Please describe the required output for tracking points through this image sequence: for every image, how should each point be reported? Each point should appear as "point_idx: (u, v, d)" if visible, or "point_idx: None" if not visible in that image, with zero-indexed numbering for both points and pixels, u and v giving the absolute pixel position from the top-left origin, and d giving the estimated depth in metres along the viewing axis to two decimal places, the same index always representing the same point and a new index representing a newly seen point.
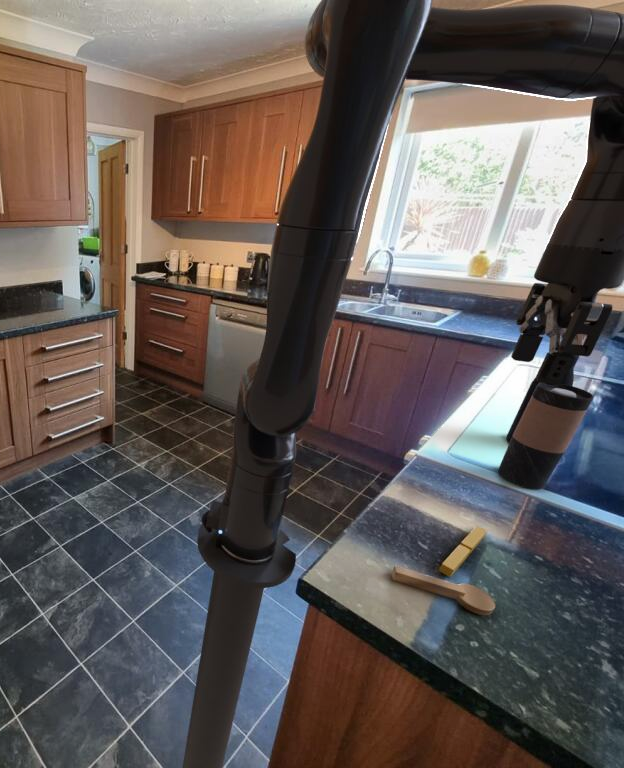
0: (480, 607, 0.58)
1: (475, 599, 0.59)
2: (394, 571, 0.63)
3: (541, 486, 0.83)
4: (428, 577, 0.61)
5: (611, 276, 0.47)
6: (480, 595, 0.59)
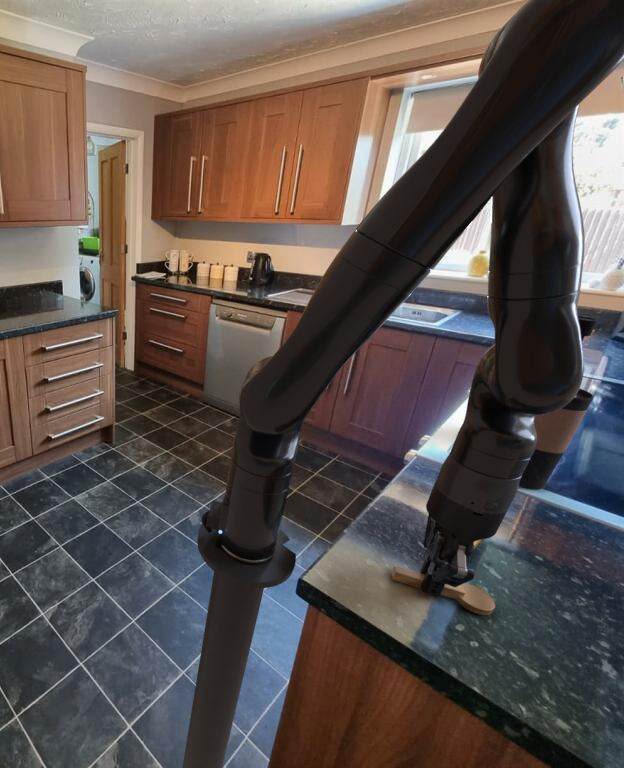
0: (480, 607, 0.58)
1: (475, 599, 0.59)
2: (394, 571, 0.63)
3: (541, 486, 0.83)
4: None
5: (483, 531, 0.52)
6: (480, 595, 0.59)
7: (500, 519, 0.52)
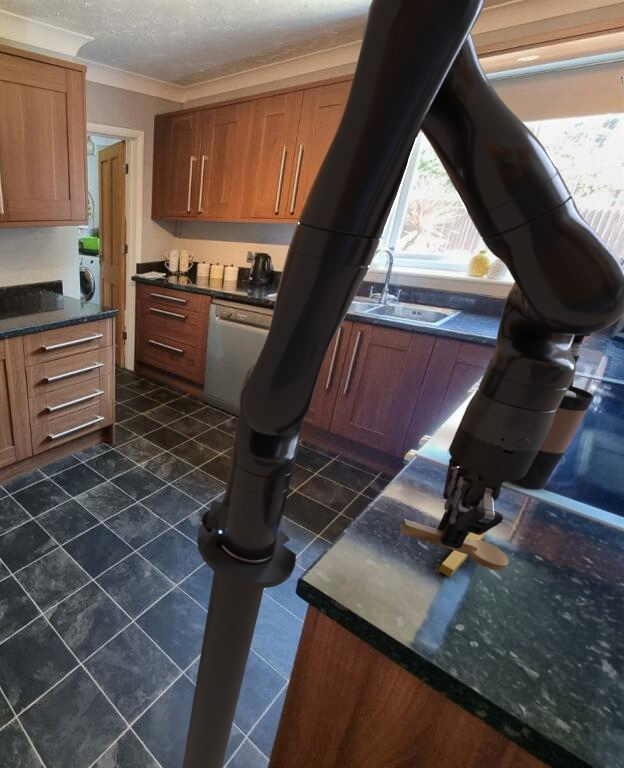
0: (493, 561, 0.55)
1: (487, 554, 0.56)
2: (403, 524, 0.59)
3: (541, 486, 0.83)
4: (439, 531, 0.58)
5: (513, 472, 0.49)
6: (492, 550, 0.56)
7: (532, 458, 0.48)
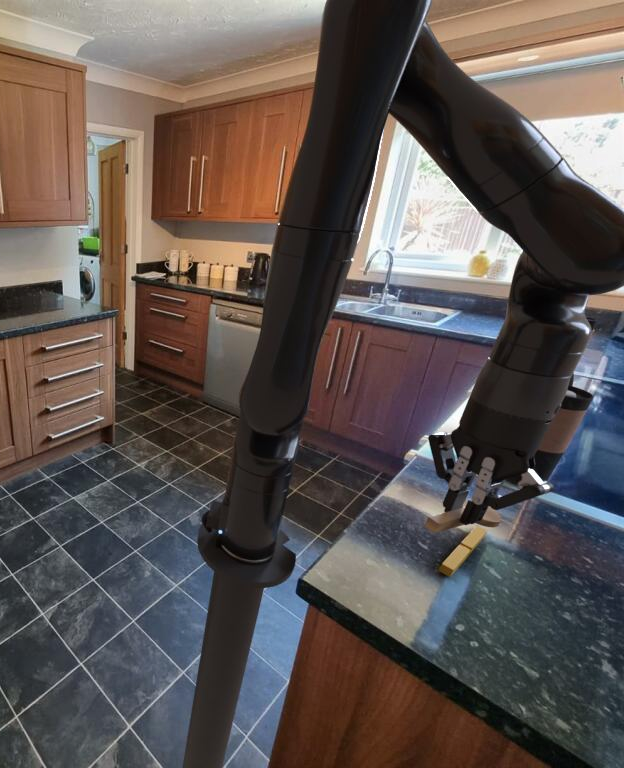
0: (496, 519, 0.56)
1: (485, 513, 0.57)
2: (433, 523, 0.54)
3: None
4: (453, 513, 0.56)
5: None
6: None
7: None
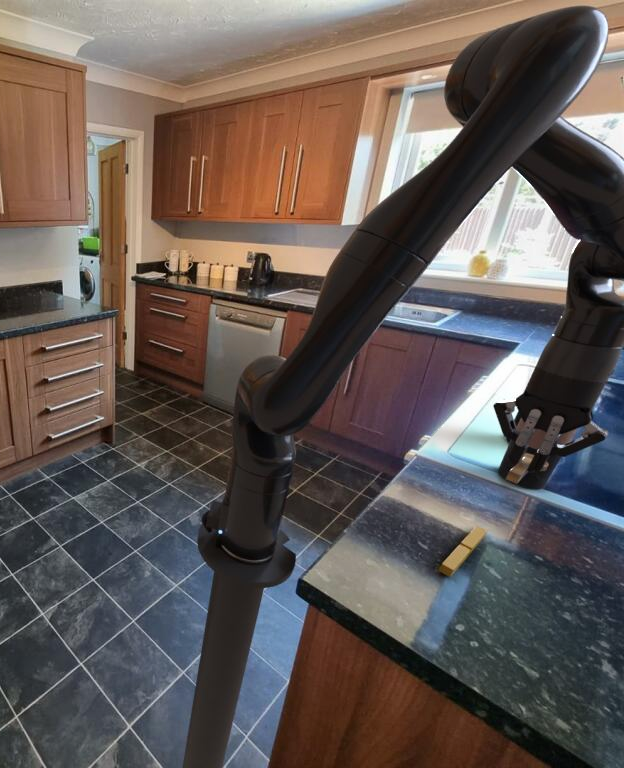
0: (545, 463, 0.70)
1: None
2: (515, 475, 0.66)
3: (541, 486, 0.83)
4: (520, 464, 0.68)
5: None
6: (527, 456, 0.72)
7: None
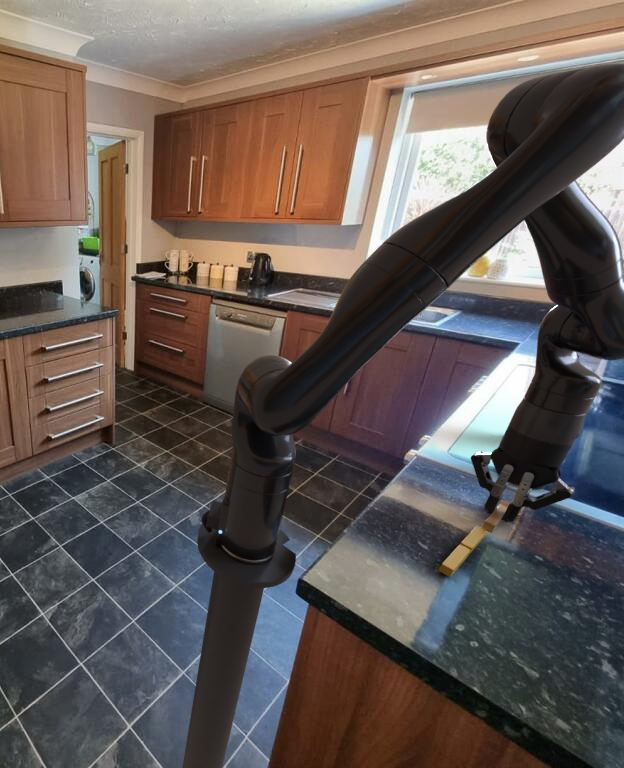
0: None
1: None
2: (489, 525, 0.70)
3: (541, 486, 0.83)
4: (495, 513, 0.73)
5: None
6: (503, 503, 0.77)
7: None
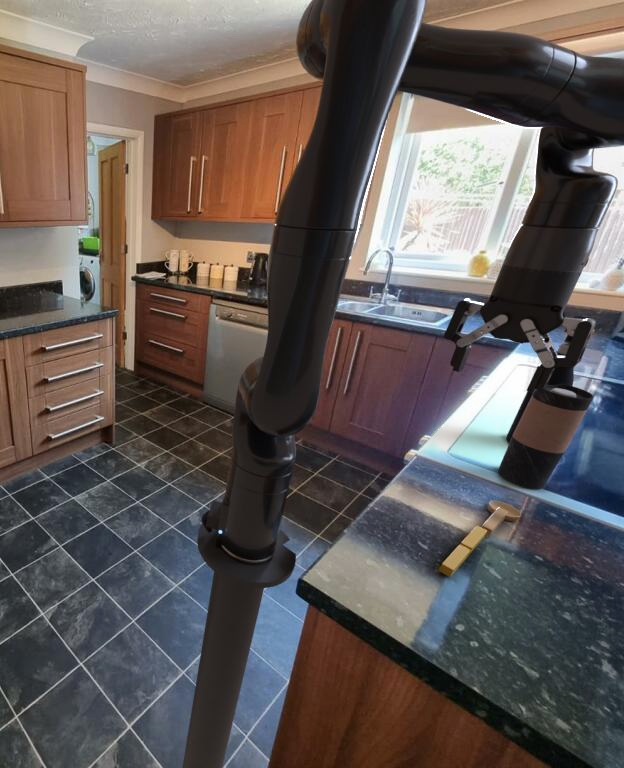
0: (517, 514, 0.75)
1: (509, 511, 0.76)
2: (487, 530, 0.71)
3: (541, 486, 0.83)
4: (493, 517, 0.73)
5: None
6: (502, 505, 0.77)
7: None
